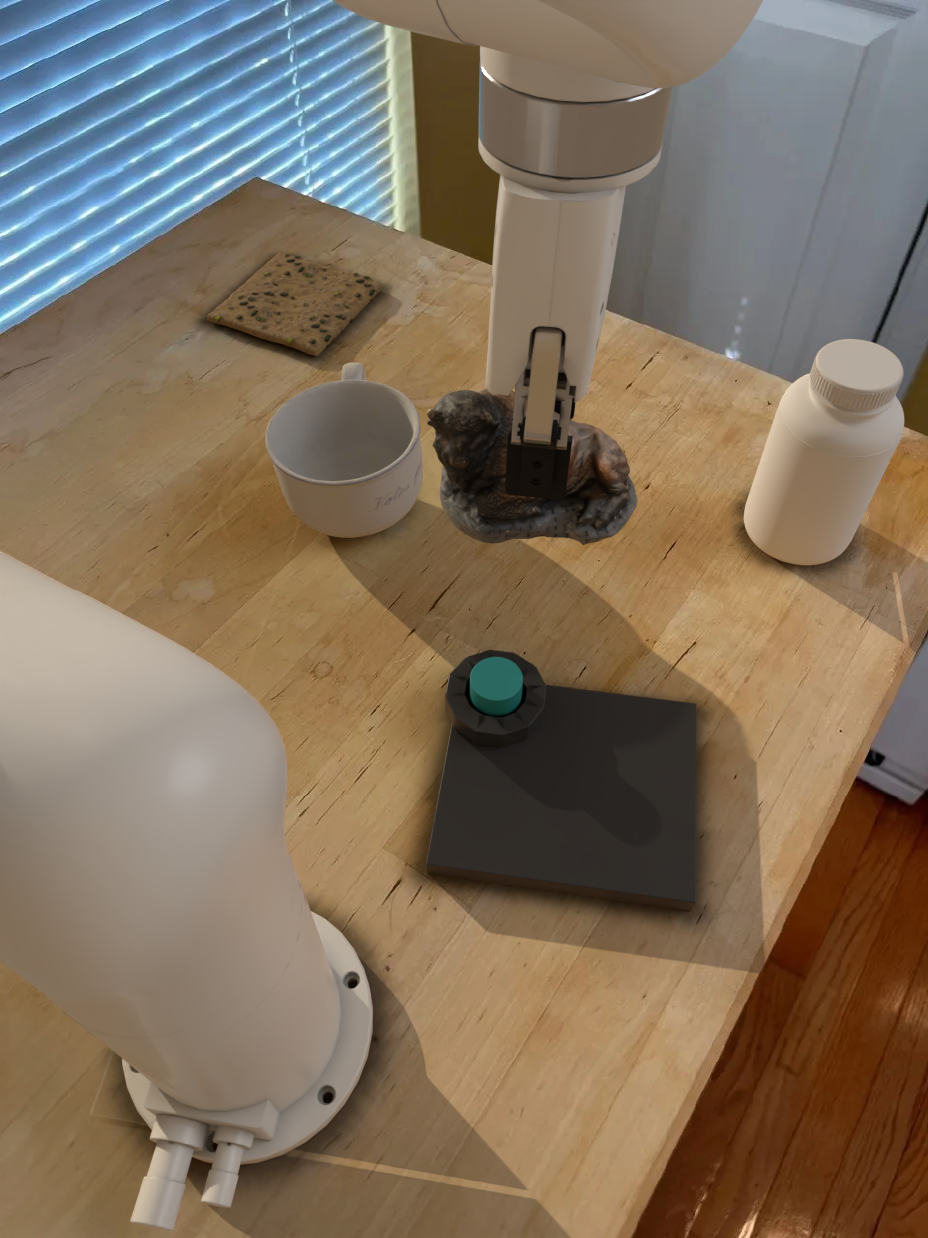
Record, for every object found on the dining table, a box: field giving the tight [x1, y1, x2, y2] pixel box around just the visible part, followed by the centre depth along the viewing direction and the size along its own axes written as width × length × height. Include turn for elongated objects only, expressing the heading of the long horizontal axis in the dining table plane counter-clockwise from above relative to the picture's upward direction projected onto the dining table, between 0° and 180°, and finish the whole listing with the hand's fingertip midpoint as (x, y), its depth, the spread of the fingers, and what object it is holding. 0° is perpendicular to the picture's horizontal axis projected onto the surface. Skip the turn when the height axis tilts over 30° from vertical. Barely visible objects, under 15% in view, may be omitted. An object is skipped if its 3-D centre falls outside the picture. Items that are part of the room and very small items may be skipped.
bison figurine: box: [426, 387, 638, 546], centre depth 52 cm, size 12×7×10 cm, turn 97°
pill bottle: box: [743, 338, 905, 566], centre depth 64 cm, size 8×8×15 cm
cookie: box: [206, 252, 383, 357], centre depth 87 cm, size 12×12×1 cm
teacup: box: [264, 361, 424, 539], centre depth 69 cm, size 14×11×8 cm
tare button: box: [470, 657, 523, 716], centre depth 57 cm, size 3×3×2 cm
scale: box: [425, 649, 697, 912], centre depth 56 cm, size 14×16×3 cm
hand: (540, 450), depth 52 cm, fingers closed on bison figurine, 5 cm apart
